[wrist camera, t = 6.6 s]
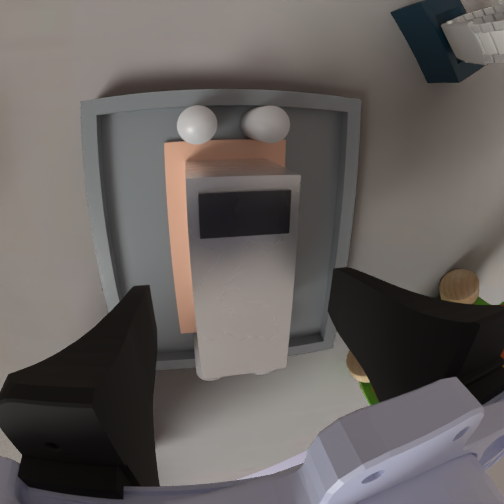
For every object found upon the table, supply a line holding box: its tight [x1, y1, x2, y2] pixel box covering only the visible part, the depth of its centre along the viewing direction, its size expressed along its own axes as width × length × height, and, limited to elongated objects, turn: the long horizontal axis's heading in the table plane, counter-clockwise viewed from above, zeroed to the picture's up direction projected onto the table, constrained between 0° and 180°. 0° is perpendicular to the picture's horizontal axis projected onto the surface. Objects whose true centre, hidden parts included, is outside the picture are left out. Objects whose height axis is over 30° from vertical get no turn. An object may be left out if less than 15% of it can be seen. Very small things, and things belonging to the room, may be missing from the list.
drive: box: [185, 159, 301, 379], centre depth 15 cm, size 9×4×5 cm, turn 179°
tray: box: [81, 89, 361, 381], centre depth 16 cm, size 16×14×4 cm
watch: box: [390, 0, 504, 83], centre depth 10 cm, size 6×8×11 cm
